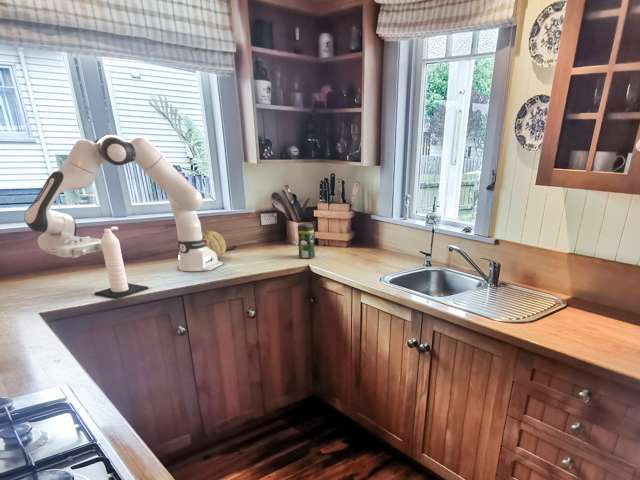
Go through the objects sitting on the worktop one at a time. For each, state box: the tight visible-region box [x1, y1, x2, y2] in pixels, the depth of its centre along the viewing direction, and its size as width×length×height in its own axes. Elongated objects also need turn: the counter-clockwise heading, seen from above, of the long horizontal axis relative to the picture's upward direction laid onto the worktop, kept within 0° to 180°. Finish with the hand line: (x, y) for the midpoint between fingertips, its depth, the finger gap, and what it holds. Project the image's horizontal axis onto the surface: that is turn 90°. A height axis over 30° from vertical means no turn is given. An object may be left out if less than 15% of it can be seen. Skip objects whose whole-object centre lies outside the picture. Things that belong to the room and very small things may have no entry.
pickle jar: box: [297, 222, 316, 260], centre depth 257 cm, size 10×8×19 cm
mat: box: [94, 282, 149, 299], centre depth 194 cm, size 16×12×1 cm
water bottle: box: [100, 226, 129, 292], centre depth 188 cm, size 9×6×25 cm
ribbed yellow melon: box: [202, 230, 227, 259], centre depth 247 cm, size 15×15×15 cm
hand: (95, 250), depth 191 cm, fingers open, 8 cm apart
